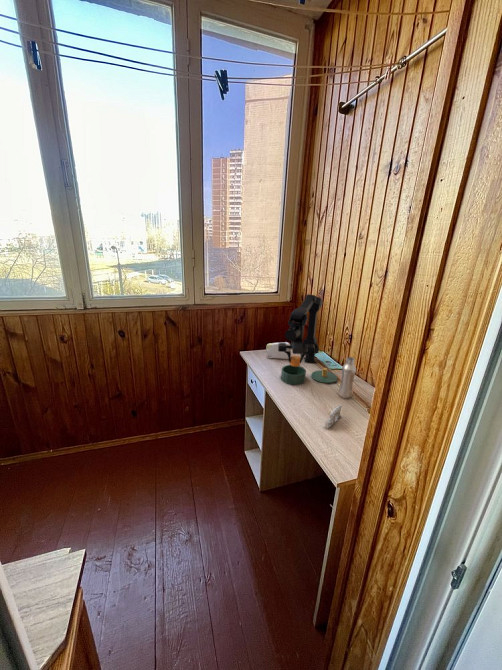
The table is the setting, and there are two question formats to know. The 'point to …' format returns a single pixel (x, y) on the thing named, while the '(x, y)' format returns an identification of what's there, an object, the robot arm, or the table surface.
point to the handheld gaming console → (275, 351)
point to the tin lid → (324, 376)
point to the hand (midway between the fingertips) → (295, 362)
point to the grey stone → (333, 416)
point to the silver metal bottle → (347, 378)
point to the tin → (293, 375)
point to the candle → (295, 361)
